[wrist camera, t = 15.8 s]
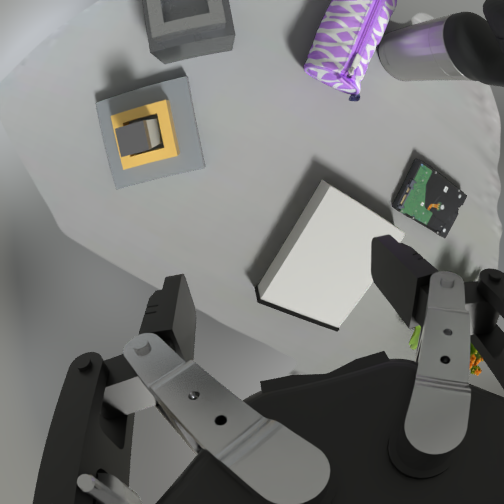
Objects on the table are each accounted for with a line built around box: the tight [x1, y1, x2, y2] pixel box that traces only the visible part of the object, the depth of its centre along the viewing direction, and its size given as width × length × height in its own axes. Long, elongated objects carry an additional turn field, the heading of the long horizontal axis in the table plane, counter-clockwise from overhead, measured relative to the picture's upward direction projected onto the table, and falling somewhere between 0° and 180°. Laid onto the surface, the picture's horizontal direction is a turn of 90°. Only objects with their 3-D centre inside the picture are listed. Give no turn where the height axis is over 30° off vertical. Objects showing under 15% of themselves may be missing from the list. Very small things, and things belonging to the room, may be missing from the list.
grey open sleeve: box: [142, 0, 235, 64], centre depth 30 cm, size 10×10×13 cm
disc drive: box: [255, 180, 405, 331], centre depth 53 cm, size 18×22×5 cm
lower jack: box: [96, 76, 205, 190], centre depth 40 cm, size 14×14×5 cm
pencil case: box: [304, 0, 397, 101], centre depth 33 cm, size 22×9×10 cm, turn 159°
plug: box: [115, 118, 163, 157], centre depth 36 cm, size 4×4×9 cm
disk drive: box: [392, 159, 467, 238], centre depth 51 cm, size 10×3×15 cm
